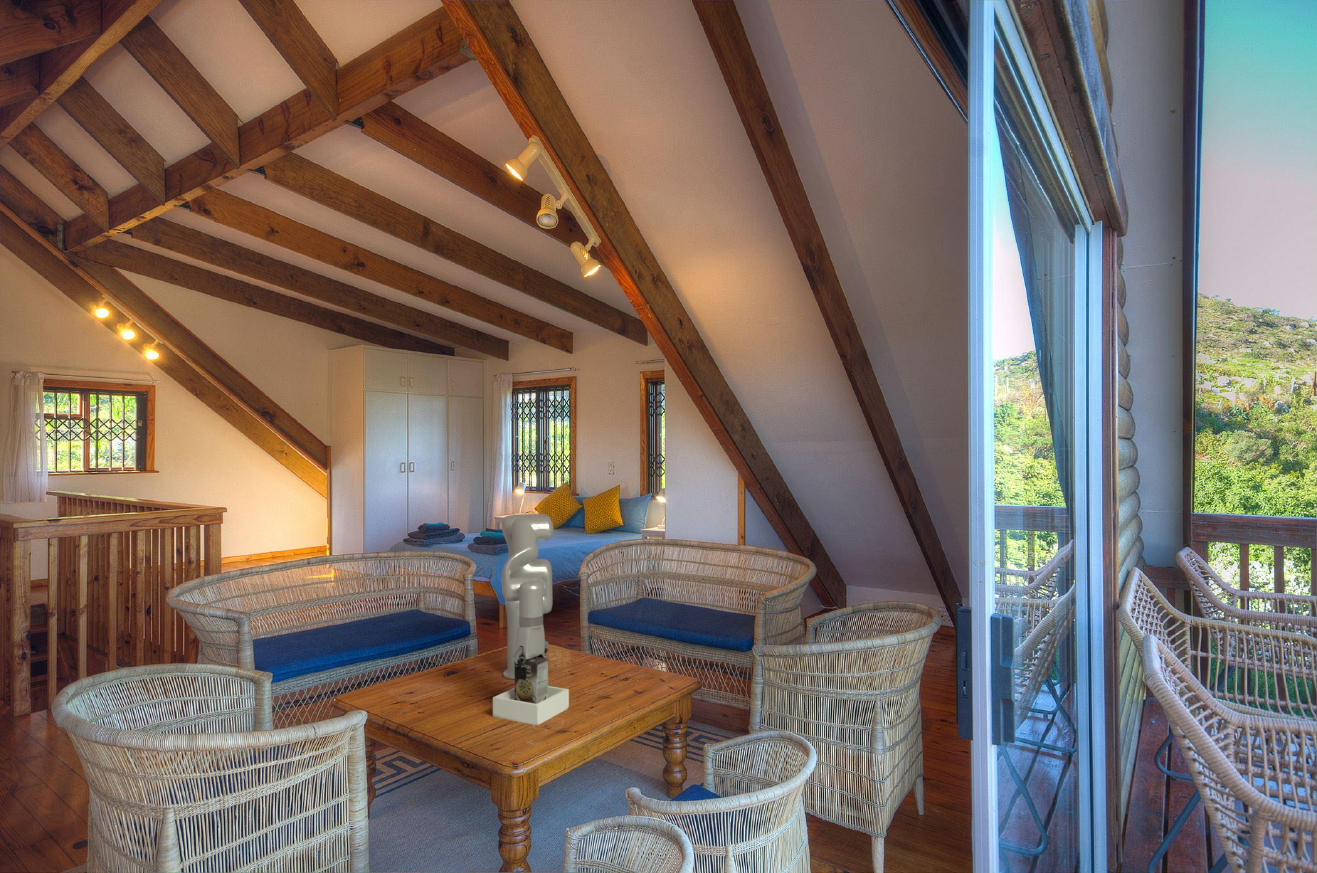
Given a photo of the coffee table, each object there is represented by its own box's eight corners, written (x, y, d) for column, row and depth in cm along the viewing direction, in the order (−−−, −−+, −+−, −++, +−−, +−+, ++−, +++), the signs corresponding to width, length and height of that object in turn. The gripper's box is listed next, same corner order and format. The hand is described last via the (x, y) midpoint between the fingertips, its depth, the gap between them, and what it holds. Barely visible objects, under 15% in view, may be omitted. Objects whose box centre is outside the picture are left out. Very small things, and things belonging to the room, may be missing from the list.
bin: (526, 700, 246) (526, 682, 246) (568, 707, 238) (568, 689, 238) (492, 716, 231) (492, 697, 231) (537, 725, 223) (537, 705, 223)
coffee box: (513, 710, 234) (513, 659, 234) (526, 704, 240) (526, 654, 240) (536, 714, 230) (536, 662, 230) (549, 708, 235) (548, 657, 236)
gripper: (537, 614, 244) (537, 665, 244) (504, 625, 229) (504, 681, 229) (556, 616, 241) (556, 668, 241) (524, 628, 226) (524, 684, 226)
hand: (531, 674), depth 235 cm, fingers open, 9 cm apart
